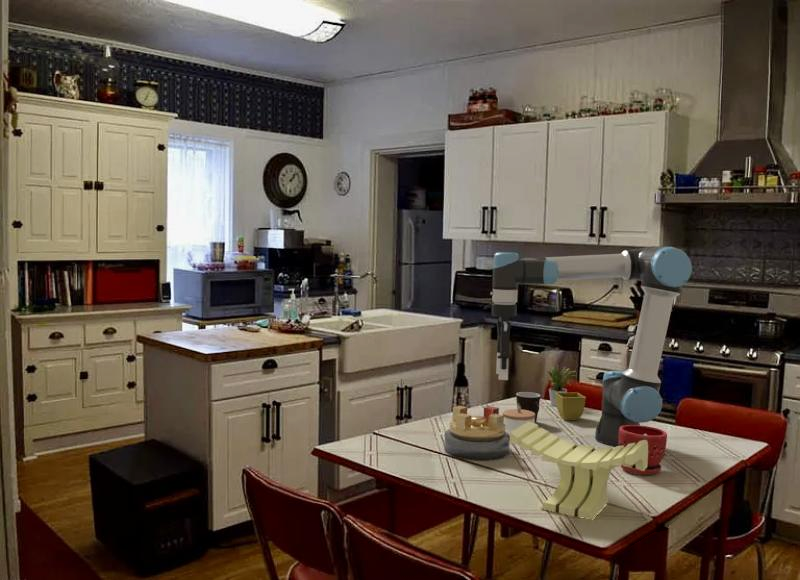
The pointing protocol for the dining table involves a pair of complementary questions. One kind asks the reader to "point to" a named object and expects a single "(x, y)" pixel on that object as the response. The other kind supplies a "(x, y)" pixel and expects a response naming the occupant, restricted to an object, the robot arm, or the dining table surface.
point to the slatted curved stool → (579, 468)
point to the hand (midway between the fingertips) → (502, 376)
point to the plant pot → (653, 438)
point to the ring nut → (477, 425)
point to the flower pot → (570, 405)
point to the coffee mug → (528, 402)
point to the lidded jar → (517, 418)
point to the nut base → (476, 448)
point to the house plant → (558, 383)
